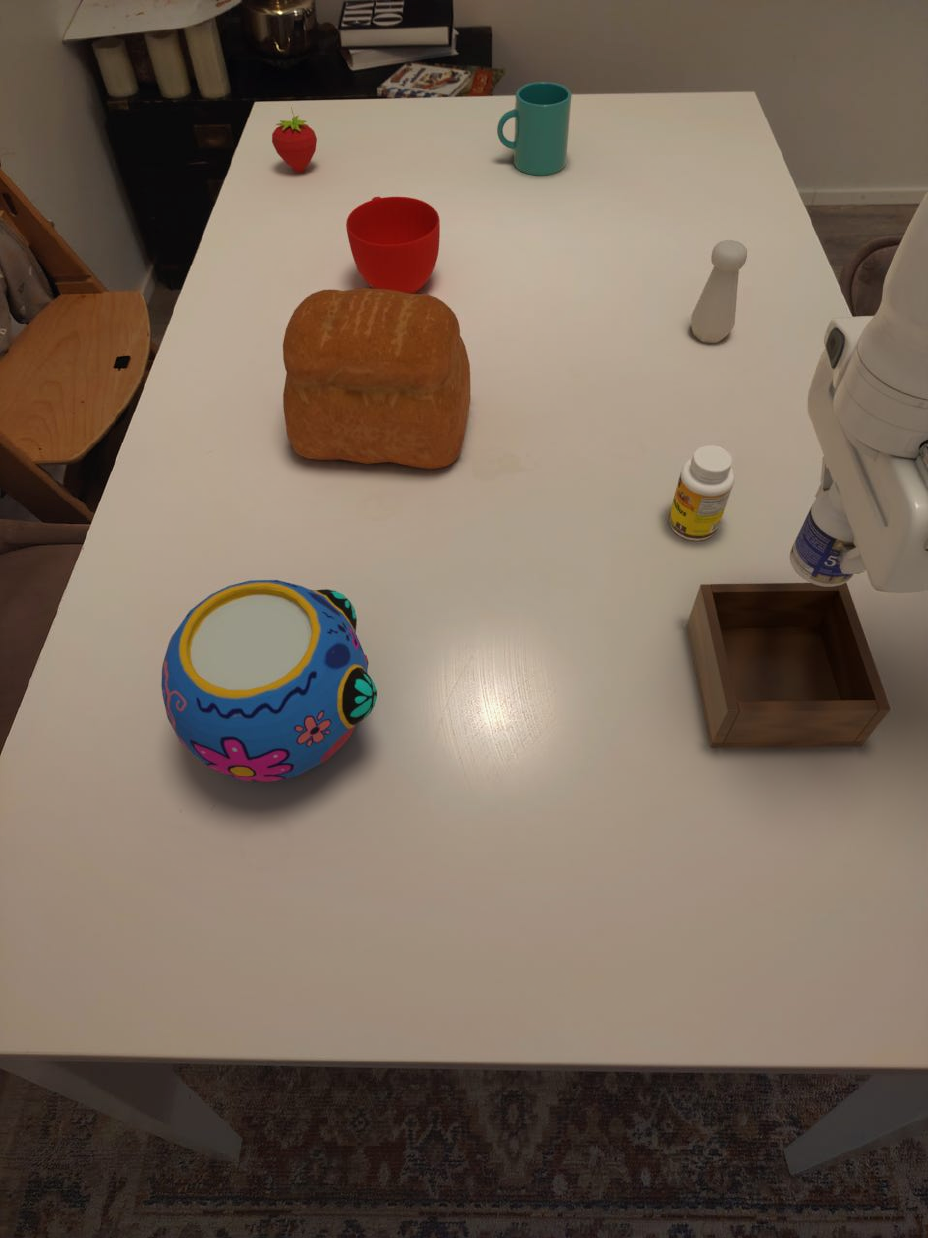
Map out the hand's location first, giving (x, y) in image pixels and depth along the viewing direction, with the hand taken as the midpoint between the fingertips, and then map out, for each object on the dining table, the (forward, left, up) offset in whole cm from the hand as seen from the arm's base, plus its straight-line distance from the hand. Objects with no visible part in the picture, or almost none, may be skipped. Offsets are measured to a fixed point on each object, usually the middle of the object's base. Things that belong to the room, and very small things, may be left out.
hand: (837, 534), depth 66 cm
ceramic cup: (+40, -69, -20) cm, 83 cm away
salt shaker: (-4, -54, -20) cm, 58 cm away
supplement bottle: (+4, -19, -20) cm, 28 cm away
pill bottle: (0, 0, -4) cm, 4 cm away
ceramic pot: (+47, +6, -20) cm, 52 cm away
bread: (+40, -36, -20) cm, 58 cm away
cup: (+18, -103, -20) cm, 107 cm away
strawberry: (+58, -102, -20) cm, 119 cm away
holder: (0, +2, -20) cm, 20 cm away
